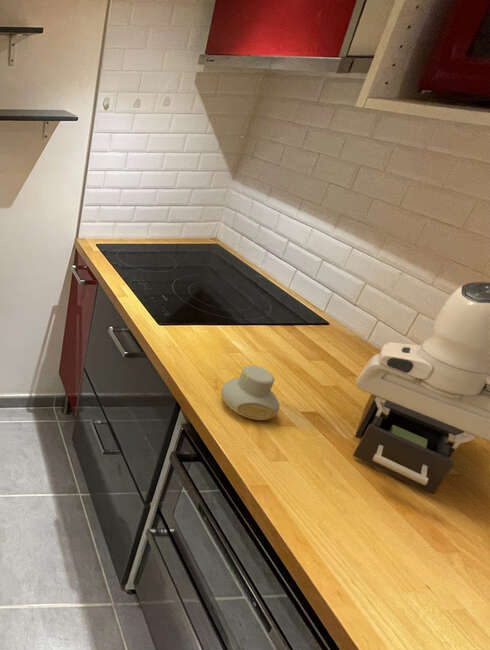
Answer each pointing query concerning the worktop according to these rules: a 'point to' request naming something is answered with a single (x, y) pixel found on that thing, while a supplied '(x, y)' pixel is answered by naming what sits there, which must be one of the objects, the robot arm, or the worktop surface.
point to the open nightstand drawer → (406, 452)
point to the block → (409, 436)
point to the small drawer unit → (406, 413)
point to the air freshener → (251, 394)
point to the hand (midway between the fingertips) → (414, 430)
